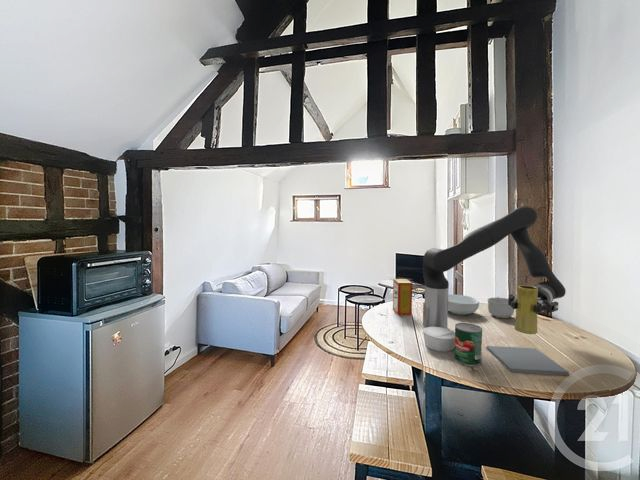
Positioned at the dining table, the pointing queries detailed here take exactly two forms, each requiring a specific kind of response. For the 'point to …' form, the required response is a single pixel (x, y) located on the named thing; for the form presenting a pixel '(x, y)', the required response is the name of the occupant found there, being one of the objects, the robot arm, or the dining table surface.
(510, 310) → the teacup
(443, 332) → the ramekin
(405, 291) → the baking soda box
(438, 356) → the dining table surface
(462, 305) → the cereal bowl
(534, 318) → the vase
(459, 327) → the canned tomato
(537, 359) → the slate mat
